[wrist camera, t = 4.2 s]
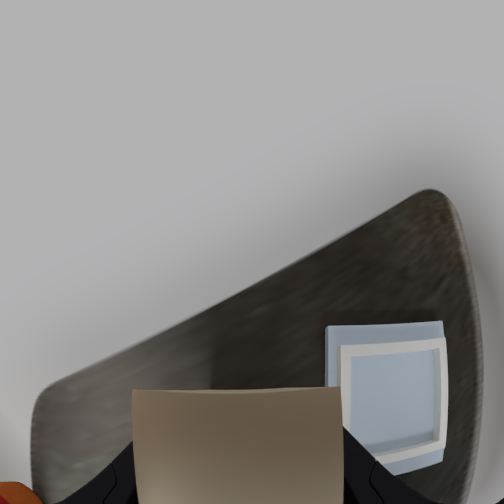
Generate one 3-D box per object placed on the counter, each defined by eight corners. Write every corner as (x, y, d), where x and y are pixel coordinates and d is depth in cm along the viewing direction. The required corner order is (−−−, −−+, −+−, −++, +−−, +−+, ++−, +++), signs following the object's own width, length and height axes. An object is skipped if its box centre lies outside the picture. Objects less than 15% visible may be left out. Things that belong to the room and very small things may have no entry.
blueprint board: (436, 459, 12) (449, 462, 10) (318, 483, 12) (325, 492, 11) (436, 323, 16) (448, 317, 15) (325, 328, 17) (331, 322, 15)
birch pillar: (288, 456, 13) (340, 549, 3) (212, 458, 13) (146, 548, 3) (286, 387, 15) (340, 386, 5) (209, 389, 15) (131, 389, 5)
